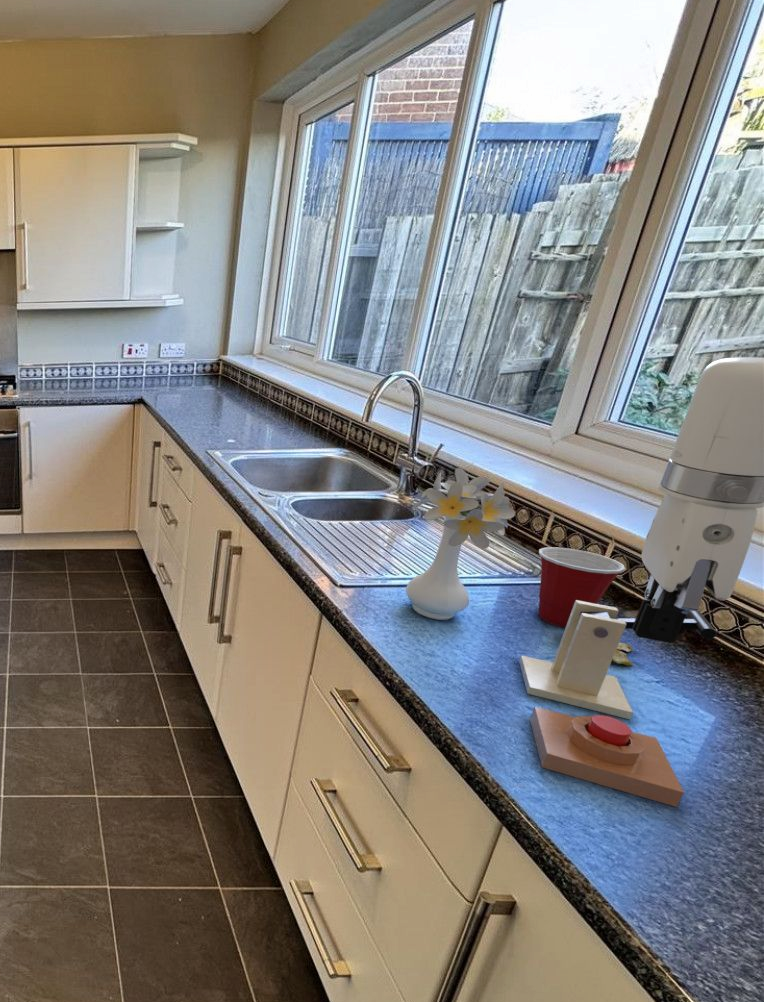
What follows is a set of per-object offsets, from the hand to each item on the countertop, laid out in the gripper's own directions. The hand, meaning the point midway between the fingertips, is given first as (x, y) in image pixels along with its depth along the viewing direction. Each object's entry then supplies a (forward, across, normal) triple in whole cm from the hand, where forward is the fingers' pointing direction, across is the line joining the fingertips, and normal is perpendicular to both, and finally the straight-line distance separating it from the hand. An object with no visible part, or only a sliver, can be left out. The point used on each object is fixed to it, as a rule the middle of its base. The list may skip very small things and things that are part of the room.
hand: (652, 636), depth 69 cm
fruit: (+18, +30, -6) cm, 35 cm away
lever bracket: (+18, +16, 0) cm, 24 cm away
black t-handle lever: (+7, +16, -4) cm, 18 cm away
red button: (+14, 0, 0) cm, 14 cm away
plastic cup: (+18, +39, -2) cm, 43 cm away
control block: (+18, 0, 0) cm, 18 cm away
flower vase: (+18, +31, +16) cm, 39 cm away
